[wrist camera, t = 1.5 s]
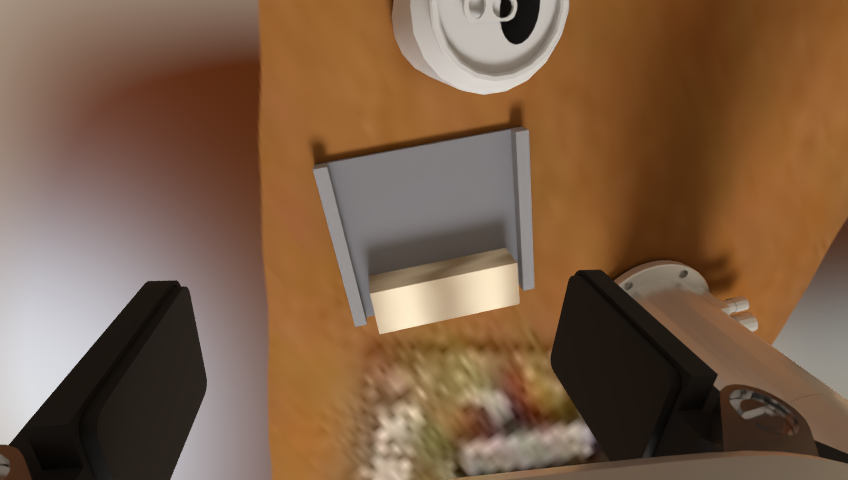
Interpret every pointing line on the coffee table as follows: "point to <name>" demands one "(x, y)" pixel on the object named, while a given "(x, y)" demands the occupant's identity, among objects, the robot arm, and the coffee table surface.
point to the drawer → (428, 207)
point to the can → (478, 39)
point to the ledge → (444, 290)
